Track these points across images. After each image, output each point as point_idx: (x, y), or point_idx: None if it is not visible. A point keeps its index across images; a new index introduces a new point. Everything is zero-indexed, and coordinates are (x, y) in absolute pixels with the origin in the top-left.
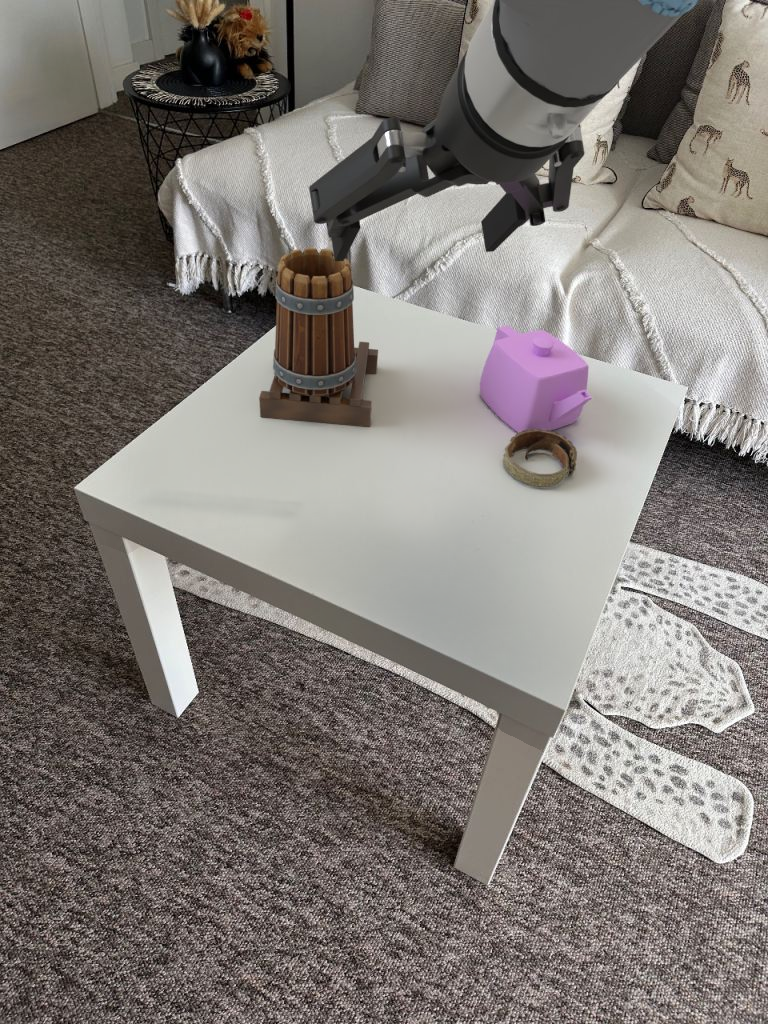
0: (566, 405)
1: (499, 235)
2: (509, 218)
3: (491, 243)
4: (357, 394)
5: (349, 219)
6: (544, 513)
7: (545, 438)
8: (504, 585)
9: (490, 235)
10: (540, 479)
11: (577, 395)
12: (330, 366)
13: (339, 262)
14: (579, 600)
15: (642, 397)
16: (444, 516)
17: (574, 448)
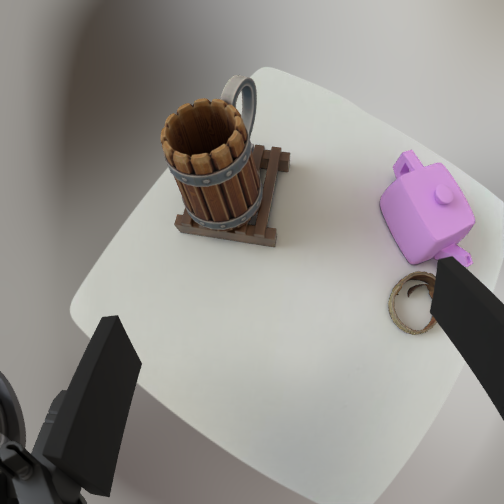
0: None
1: (464, 354)
2: (495, 385)
3: (444, 326)
4: (261, 226)
5: None
6: (407, 363)
7: (427, 278)
8: (355, 441)
9: (448, 315)
10: (413, 333)
11: (462, 258)
12: (230, 212)
13: (232, 116)
14: (403, 450)
15: (495, 214)
16: (325, 369)
17: None
